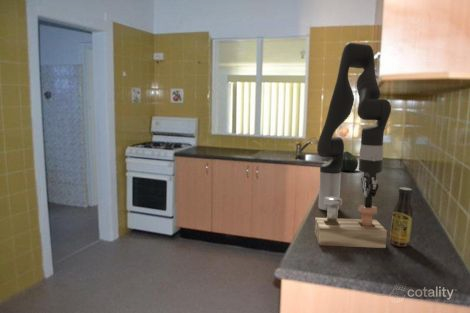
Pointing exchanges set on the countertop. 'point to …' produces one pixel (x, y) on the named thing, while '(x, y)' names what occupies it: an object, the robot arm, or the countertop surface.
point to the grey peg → (332, 208)
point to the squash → (349, 162)
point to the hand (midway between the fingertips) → (367, 207)
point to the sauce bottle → (402, 219)
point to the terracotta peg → (367, 215)
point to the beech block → (350, 233)
